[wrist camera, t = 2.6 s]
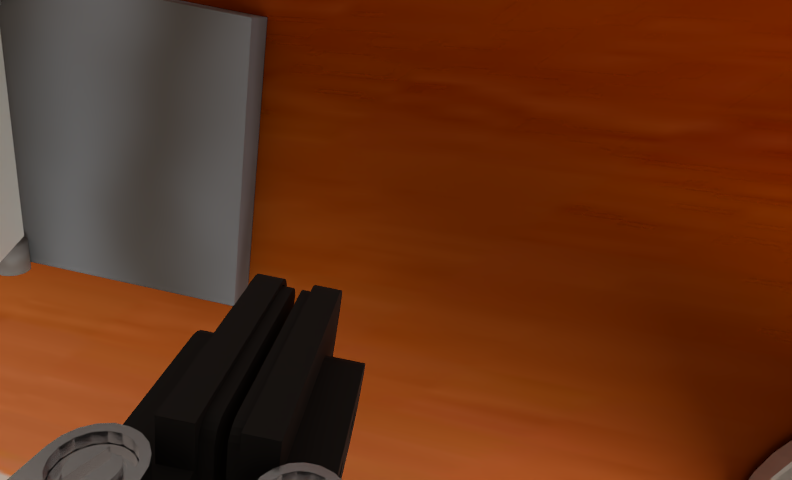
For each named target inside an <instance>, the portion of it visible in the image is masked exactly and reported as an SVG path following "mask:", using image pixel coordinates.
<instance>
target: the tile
mask: <svg viewBox="0 0 792 480" xmlns="http://www.w3.org/2000/svg"><path fill="white" fill-rule="evenodd" d="M23 237H24V230H23V222H22V213H21V205H20V196H19V188H18V179H17V170H16V162H15V153H14V145H13V136H12V127H11V119H10V110H9V102H8V93H7V84H6V76H5V67H4V59H3V50H2V41H1V33H0V262H1V261H2V260H3V259H4V258H5V256H6V255H7V254H8V253H9V252H10V251H11V250H12V249H13V248H14V247H15V245H16V244H17V243H18V242H19V241H20V240H21V239H22V238H23Z"/></svg>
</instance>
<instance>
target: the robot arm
mask: <svg viewBox="0 0 792 480" xmlns="http://www.w3.org/2000/svg"><path fill="white" fill-rule="evenodd" d="M341 298H342V290H337V289H332V288H327V287H322V286H317V285H314V286H313V288H312V290H311V292H310V291H305V290H302V291H301V293H300V295H299V297H298V298H297V300H296V302H295V304H294V299H295V289H294V288H290V287H287V283H286V279H282V278H277V277H272V276H267V275H262V274H257V275H256V276H255V277H254V278H253V280H252V281H251V282H250V284H249V285H248V287H247V288H246V289H245V291H244V292H243V293H242V295H241V296H240V298H239V299H238V300H237V302H236V303H235V305H234V306H233V307H232V309H231V310H230V311H229V313H228V314H227V316H226V317H225V318H224V320H223V321H222V322H221V324H220V325H219V327H218V328H217V329H216V331H215V332H214V333H213V332H208V331H203V330H200V331H197V332H196V333H195V334H194V335H193V336H192V337H191V338H190V340H189V341H188V342H187V343H186V345H185V346H184V347H183V348H182V350H181V351H180V352H179V354H178V355H177V356H176V357H175V359H174V360H173V361H172V363H171V364H170V365H169V366H168V368H167V369H166V370H165V371H164V373H163V374H162V375H161V377H160V378H159V379H158V380H157V382H156V383H155V384H154V386H153V387H152V388H151V389H150V391H149V392H148V393H147V394H146V396H145V397H144V398H143V400H142V401H141V402H140V403H139V405H138V406H137V407H136V409H135V410H134V411H133V412H132V414H131V415H130V416H129V417H128V419H127V420H126V421H125V423H124V424H123V425H121V424H116V423H101V424H93V425H89V426H85V427H80V428H77V429H75V430H73V431H70V432H68V433H66V434H64V435H61V436H60V437H59V438H57V439H56V440H54V441H53V442H51V443H50V444H48V445H47V446H46V447H44V448H43V449H42V450H41V451H40V452H39V453H38V454H36V455H35V456H34V457H33V458H32V459H31V460H29V461H28V462H27V463H26V464H25V465H24V466H22V467H21V468H20V469H19V470H18V471H17V472H16V473H14V474H13V475H12V476H11V477H10V478H9V479H7V480H341V478H342V474H343V469H344V465H345V461H346V457H347V452H348V448H349V444H350V439H351V435H352V430H353V426H354V421H355V416H356V412H357V407H358V402H359V396H360V391H361V386H362V380H363V375H364V369H365V363H360V362H355V361H350V360H346V359H341V358H336V357H333V351H334V344H335V338H336V331H337V325H338V318H339V312H340V305H341ZM749 480H792V440H791V441H790V442H788V443H787V444H785V445H784V446H783V447H781V448H780V449H778V450H777V451H775V452H774V453H773V454H772V455H771V456H770V457H769V458H768V459H767V460H766V461H765V462H764V463H763V464H762V465H761V466H759V467H758V468H757V469H756V470H755V471H754V473H753V474H752V476H751V477H750V479H749Z"/></svg>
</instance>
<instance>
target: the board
mask: <svg viewBox="0 0 792 480" xmlns="http://www.w3.org/2000/svg"><path fill="white" fill-rule="evenodd" d="M266 29H267V17H263V16H257V15H252V14H247V13H242V12H237V11H232V10H227V9H221V8H216V7H211V6H206V5H201V4H196V3H191V2H186V1H180V0H0V33H1V41H2V50H3V59H4V67H5V76H6V84H7V93H8V102H9V110H10V119H11V127H12V136H13V145H14V153H15V162H16V170H17V179H18V188H19V196H20V205H21V213H22V222H23V230H24V237H23V238H22V239H21V240H20V241H19V242H18V243H17V244H16V245H15V247H14V248H13V249H12V250H11V251H10V252H9V253H8V254H7V255H6V256H5V258H4V259H3V260H2V261H1V262H0V275H3V276H14V275H20V274H23V273H26V272H27V271H29V270H30V269H31V263H30V262H35V263H39V264H44V265H48V266H53V267H58V268H62V269H67V270H71V271H76V272H80V273H85V274H90V275H94V276H99V277H103V278H108V279H112V280H117V281H122V282H126V283H131V284H135V285H140V286H144V287H149V288H154V289H158V290H163V291H167V292H172V293H176V294H181V295H186V296H190V297H195V298H199V299H204V300H208V301H213V302H218V303H222V304H227V305H231V306H234V305H235V303H236V302H237V300H238V299H239V298H240V296H241V295H242V293H243V292H244V291H245V289H246V288H247V287H248V280H249V266H250V252H251V238H252V224H253V210H254V196H255V182H256V168H257V155H258V141H259V127H260V113H261V99H262V85H263V71H264V57H265V43H266Z"/></svg>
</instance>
